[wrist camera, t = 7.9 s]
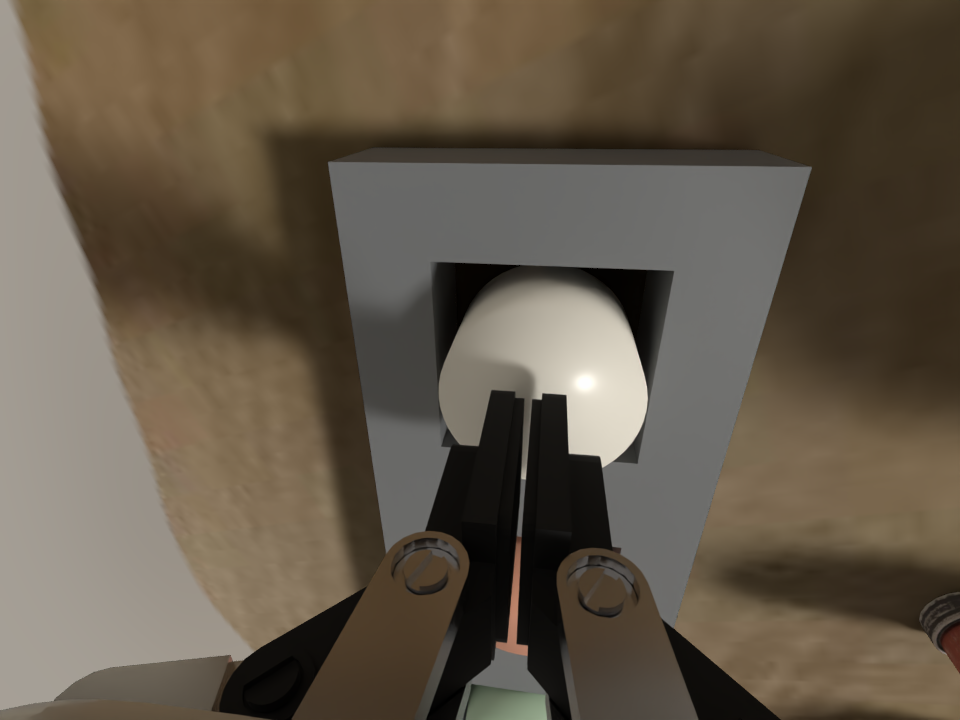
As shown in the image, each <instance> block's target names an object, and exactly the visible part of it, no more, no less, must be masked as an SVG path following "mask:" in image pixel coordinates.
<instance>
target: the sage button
mask: <svg viewBox="0 0 960 720" xmlns="http://www.w3.org/2000/svg"><path fill="white" fill-rule="evenodd" d="M466 720H547V714H546V706H545V695H542V694H535V693H529V692H522V691H515V690H509V689H502V688H495V687H489V686H482V685H476V684H471V690H470V695H469V701H468V707H467V714H466Z"/></svg>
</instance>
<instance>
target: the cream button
mask: <svg viewBox="0 0 960 720" xmlns="http://www.w3.org/2000/svg"><path fill="white" fill-rule="evenodd" d="M491 390H501V391H515V392H516V398H524V399H525V400H524V425H523V448H522V470H521V479H525V480H526V470H527V458H528V445H529V433H530V420H531V408H532V399H541V400H542V393H547V394H562V395H567V419H568V445H569V454H581V455H594V456H600V458H601V463H602V468H603V467H605V466H606V465H608V464H609V463H611V462H612V461H614V460H615V459H616V458H618V457H619V456H620V455H621V454H622V453H623V452H624V451H625V450H626V449H627V448H628V447H629V446H630V445H631V443H632V442H633V441H634V439H635V437H636V436H637V434H638V433H639V431H640V428H641V426H642V424H643V422H644V418H645V414H646V410H647V401H648V396H647V385H646V381H645V376H644V372H643V369H642V365H641V362H640V358H639V355H638V351H637V348H636V344H635V341H634V337H633V334H632V330H631V327H630V323H629V320H628V317H627V315H626V312H625V309H624V308H623V306H622V304H621V302H620V301H619V299H618V298H617V297H616V295H615V294H614V293H613V292H612V290H611V289H609V288H608V287H607V286H606V285H605V284H604V283H603V282H602V281H600V280H599V279H597V278H596V277H595V276H593V275H591V274H589V273H587V272H585V271H583V270H580V269H578V268H575V267H561V266H534V265H523V266H519V267H516V268H513V269H510V270H508V271H506V272H503V273H502V274H500V275H498V276H497V277H495V278H493V279H492V280H491V281H490V282H488V283H487V284H486V285H485V286H484V287H483V288H482V289H481V290H480V291H479V292H478V293H477V294H476V296H475V297H474V298H473V300H472V301H471V303H470V305H469V307H468V309H467V311H466V313H465V315H464V318H463V320H462V322H461V325H460V327H459V329H458V332H457V334H456V336H455V339H454V341H453V344H452V346H451V348H450V351H449V353H448V355H447V358H446V360H445V362H444V365H443V368H442V371H441V375H440V380H439V402H440V408H441V411H442V415H443V418H444V420H445V422H446V425H447V427H448V429H449V430H450V432H451V433H452V435H453V437H454V438H455V439H456V440H457V442H458V443H459V444H460V445H470V446H479V442H480V438H481V433H482V429H483V424H484V420H485V416H486V411H487V407H488V402H489V398H490V393H491Z"/></svg>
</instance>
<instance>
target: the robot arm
mask: <svg viewBox="0 0 960 720" xmlns="http://www.w3.org/2000/svg"><path fill="white" fill-rule="evenodd" d="M524 400H525V399H524V398H516V392H515V391H501V390H491V393H490V398H489V402H488V407H487V411H486V416H485V420H484V424H483V429H482V433H481V438H480V442H479V446H470V445H457V444H453V445H452V446H451V449H450V451H449V455H448V458H447V461H446V464H445V468H444V471H443V474H442V477H441V481H440V484H439V487H438V490H437V494H436V497H435V500H434V504H433V507H432V510H431V513H430V517H429V520H428V523H427V526H426V530H425V531H424V532H417V533H414V534H411V535H409V536H406V537H404V538H402V539H401V540H399V541H398V542H397V543H395V544H394V545H393V546H392V547H391V548H390V550H389V551H388V552H387V553H386V555H385V557H384V558H383V560H382V562H381V564H380V565H379V567H378V569H377V571H376V572H375V574H374V576H373V578H372V579H371V581H370V583H369V585H368V586H367V587H365V588H364V589H362V590H360V591H358V592H357V593H355V594H353V595H351V596H350V597H348V598H346V599H344V600H343V601H341V602H339V603H338V604H336V605H334V606H332V607H331V608H329V609H327V610H325V611H324V612H322V613H320V614H318V615H317V616H315V617H313V618H311V619H310V620H308V621H306V622H304V623H303V624H301V625H299V626H297V627H296V628H294V629H292V630H291V631H289V632H287V633H285V634H284V635H282V636H280V637H278V638H277V639H275V640H273V641H271V642H270V643H268V644H266V645H264V646H263V647H261V648H259V649H258V650H257V651H255V652H254V653H253V654H251V655H250V656H249V657H247V658H246V659H245V660H244V661H234V662H233V661H232V658H231V655H227V656H218V657H207V658H199V659H188V660H179V661H169V662H161V663H150V664H141V665H132V666H122V667H113V668H108V669H104V670H100V671H97V672H93V673H91V674H89V675H88V676H86V677H84V678H82V679H80V680H78V681H76V682H75V683H73V684H72V685H71V686H70V687H69V688H67V689H66V690H65V691H64V692H62V693H61V694H60V695H59V696H58V697H56V699H55V700H54V701H51V702H42V703H34V704H29V705H24V706H19V707H14V708H9V709H5V710H0V720H462V719H463V715H464V712H465V708H466V705H467V701H468V698H469V695H470V690H471V683H472V679H473V678H474V677H476V676H477V675H478V674H479V673H481V672H482V671H483V670H485V669H486V668H487V667H488V666H490V665H491V660H493V661H494V658H495V649H496V642H503V643H507V640H508V629H509V618H510V607H511V596H512V585H513V574H514V562H515V551H516V540H517V529H518V518H519V507H520V493H521V470H522V448H523V425H524ZM516 644H518V645H526V646H528V655H527V670H528V671H529V672H530V674H531V675H532V676H533V677H534V678H535V680H536V681H537V682H538V683H539V684H540V686H541V687H542V688H543V689H544V690H545V706H546V714H547V720H780V719H779V718H778V717H777V716H776V715H775V714H773V713H772V712H771V711H770V710H769V709H768V708H766V707H765V706H764V705H763V704H762V703H761V702H759V701H758V700H757V699H756V698H755V697H753V696H752V695H751V694H750V693H749V692H748V691H746V690H745V689H744V688H743V687H742V686H741V685H739V684H738V683H737V682H736V681H735V680H733V679H732V678H731V677H730V676H729V675H728V674H726V673H725V672H724V671H723V670H722V669H721V668H719V667H718V666H717V665H716V664H715V663H713V662H712V661H711V660H710V659H709V658H708V657H706V656H705V655H704V654H703V653H702V652H701V651H699V650H698V649H697V648H696V647H695V646H693V645H692V644H691V643H690V642H689V641H688V640H686V639H685V638H684V637H683V636H682V635H681V634H679V633H678V632H677V631H676V630H675V629H673V628H672V627H671V626H670V625H669V624H668V623H666V622H665V621H664V620H663V619H662V618H661V616H660V614H659V611H658V608H657V606H656V603H655V600H654V597H653V595H652V592H651V589H650V586H649V584H648V582H647V580H646V578H645V577H644V575H643V573H642V571H641V570H640V569H639V568H638V567H637V566H636V565H635V564H634V563H633V562H632V561H630V560H629V559H627V558H625V557H624V556H622V555H621V554H619V553H616V552H613V549H612V541H611V534H610V526H609V518H608V510H607V502H606V495H605V487H604V479H603V471H602V463H601V458H600V456H594V455H581V454H569V445H568V419H567V395H562V394H547V393H542V400H541V399H532V408H531V420H530V433H529V445H528V458H527V470H526V483H525V495H524V508H523V521H522V537H521V558H520V579H519V600H518V621H517V642H516Z"/></svg>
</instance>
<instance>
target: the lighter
mask: <svg viewBox="0 0 960 720" xmlns="http://www.w3.org/2000/svg"><path fill="white" fill-rule="evenodd" d="M919 621H920V623H921V626H922V628H923V629H924V631H925V632H926V634H927V635H928V637H929V638H930V640H931V641H932V643H933V644H934V646H935V647H936V648H937V649H938V650H939V651H940V652H942V653H943V654H946V655H948V657H949V658H950V660H951V661H952V663H953V664H954V666H955V667H956V669H957V670H958V672H959V673H960V592H956V593H950V594H946V595H943V596H941V597H938V598H936V599H934V600H933V601H931V602H930V603H928V604H927V605H926V606H925V607H924V609H923V610H922V611H921V614H920V618H919Z"/></svg>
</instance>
